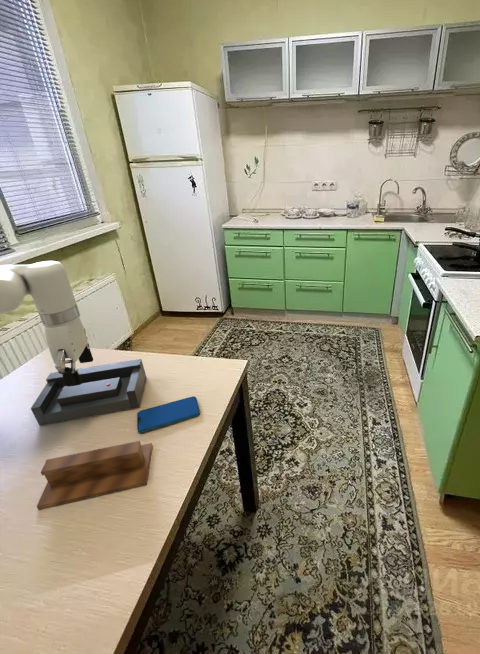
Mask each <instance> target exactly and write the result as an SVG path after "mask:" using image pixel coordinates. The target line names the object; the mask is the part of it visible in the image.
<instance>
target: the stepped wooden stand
mask: <svg viewBox="0 0 480 654" xmlns="http://www.w3.org/2000/svg"><path fill="white" fill-rule="evenodd" d="M152 453H153V443H152V442H149V443H145V444H142V443H141V440H136V441H131V442H126V443H122V444H117V445H111V446H107V447H102V448H97V449H92V450H87V451H83V452H78V453H73V454H68V455H63V456H58V457H53V458H48V459H46V460H45V461H44V463H43V466H42V468H41V471H40V474H41V476H44V477H45V480H46V481H47V482H46V484H45V487H44V489H43V491H42V493H41V496H40V498H39V500H38V502H37V505H36V508H37V510H38V511H39V510H43V509H48V508H52V507H56V506H60V505H65V504H69V503H75V502H78V501H82V500H86V499H90V498H95V497H100V496H104V495H109V494H113V493H117V492H122V491H126V490H130V489H133V488H139V487H142V486H147V485H148V479H149V472H150V465H151V460H152Z"/></svg>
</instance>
